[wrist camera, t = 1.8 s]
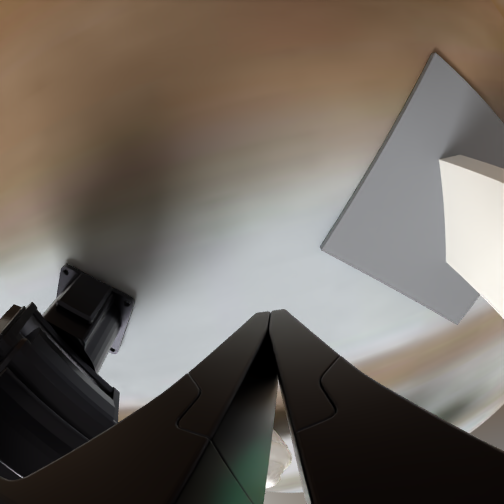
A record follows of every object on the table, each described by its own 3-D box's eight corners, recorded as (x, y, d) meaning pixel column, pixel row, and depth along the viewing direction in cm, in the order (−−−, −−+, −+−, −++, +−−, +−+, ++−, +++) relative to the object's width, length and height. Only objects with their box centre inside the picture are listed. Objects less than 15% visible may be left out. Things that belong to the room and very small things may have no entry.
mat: (454, 321, 24) (457, 325, 23) (319, 247, 21) (321, 250, 20) (541, 180, 18) (544, 181, 18) (431, 53, 15) (435, 52, 15)
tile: (445, 261, 21) (522, 340, 12) (438, 159, 18) (546, 202, 9) (468, 253, 21) (547, 324, 11) (464, 153, 17) (570, 193, 8)
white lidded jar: (254, 411, 28) (255, 471, 22) (300, 428, 30) (308, 483, 23) (221, 436, 30) (218, 490, 24) (266, 451, 32) (268, 501, 25)
